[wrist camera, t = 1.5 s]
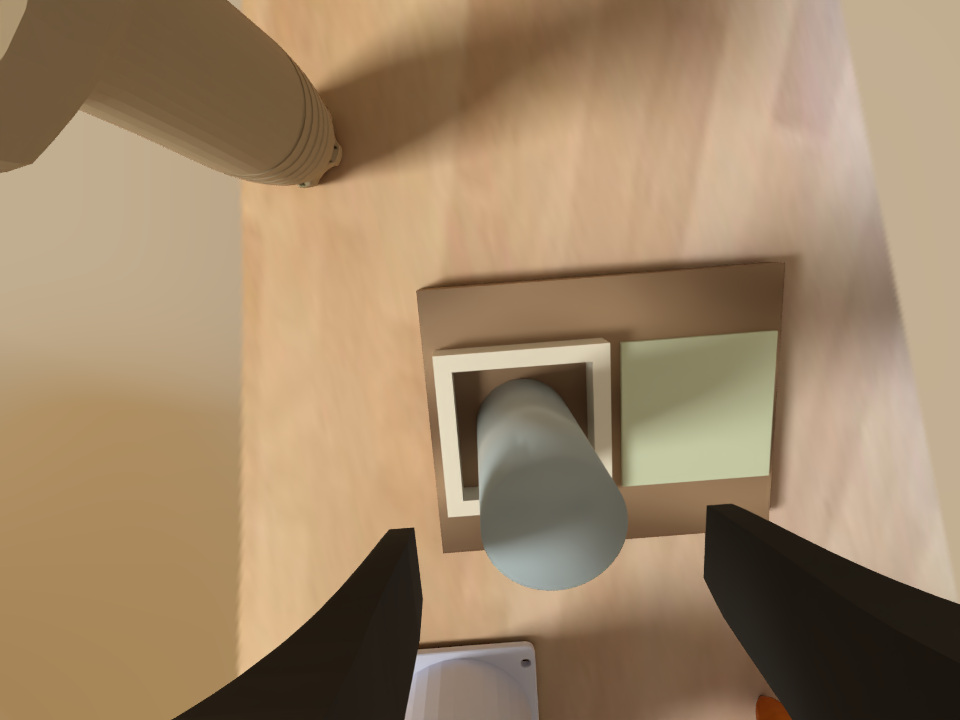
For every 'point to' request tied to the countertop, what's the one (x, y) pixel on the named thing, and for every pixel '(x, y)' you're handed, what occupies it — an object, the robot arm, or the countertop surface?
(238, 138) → the handle
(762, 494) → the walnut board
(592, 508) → the grey-blue cylinder
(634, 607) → the countertop surface
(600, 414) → the cream square frame
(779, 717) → the carrot
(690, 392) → the pad
